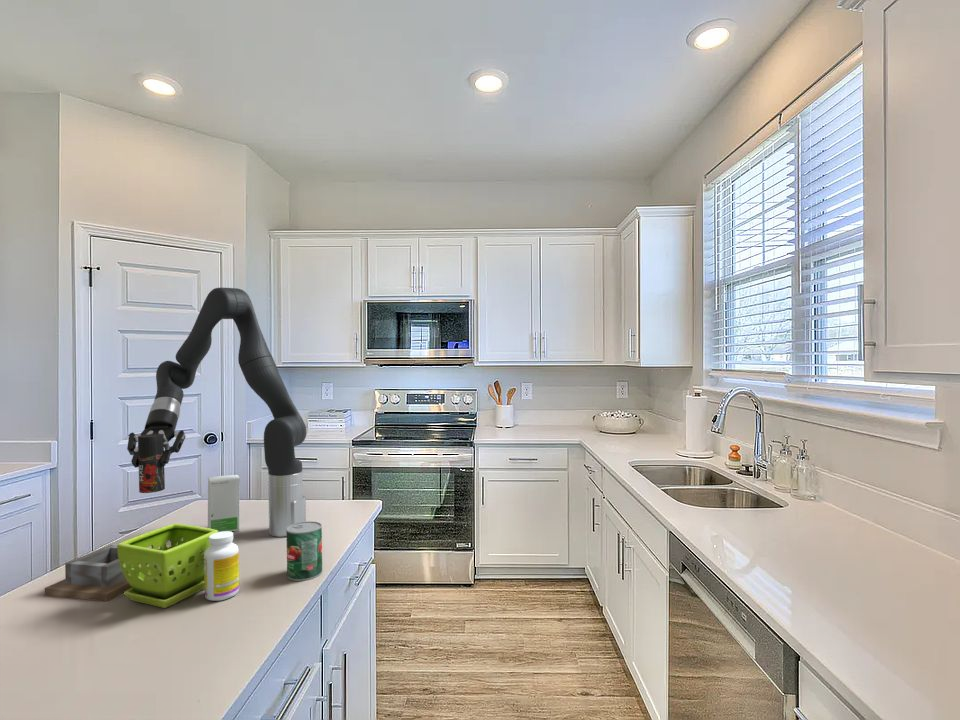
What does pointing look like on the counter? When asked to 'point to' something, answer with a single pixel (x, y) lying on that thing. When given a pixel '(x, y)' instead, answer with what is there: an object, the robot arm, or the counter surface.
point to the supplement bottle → (221, 567)
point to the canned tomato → (304, 550)
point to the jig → (93, 577)
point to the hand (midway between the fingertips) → (149, 464)
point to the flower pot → (165, 564)
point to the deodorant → (151, 463)
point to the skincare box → (223, 503)
